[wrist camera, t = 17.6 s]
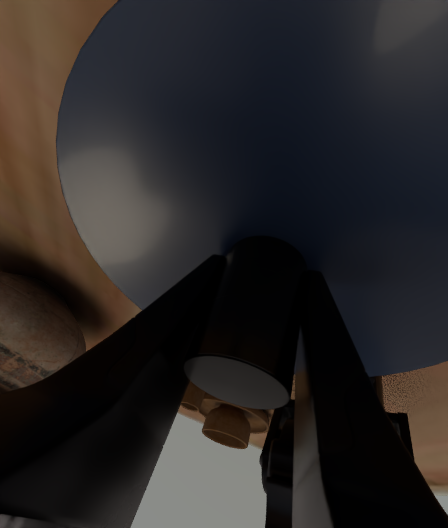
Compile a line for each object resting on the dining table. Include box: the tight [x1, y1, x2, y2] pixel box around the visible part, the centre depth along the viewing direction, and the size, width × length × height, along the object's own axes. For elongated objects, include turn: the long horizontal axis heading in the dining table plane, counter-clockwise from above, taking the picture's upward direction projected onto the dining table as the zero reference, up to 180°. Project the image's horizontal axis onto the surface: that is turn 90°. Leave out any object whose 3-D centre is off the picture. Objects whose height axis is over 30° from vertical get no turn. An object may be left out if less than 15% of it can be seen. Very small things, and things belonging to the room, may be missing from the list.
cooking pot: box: [0, 271, 86, 393], centre depth 32 cm, size 25×19×12 cm
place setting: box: [180, 381, 269, 449], centre depth 40 cm, size 18×20×6 cm
